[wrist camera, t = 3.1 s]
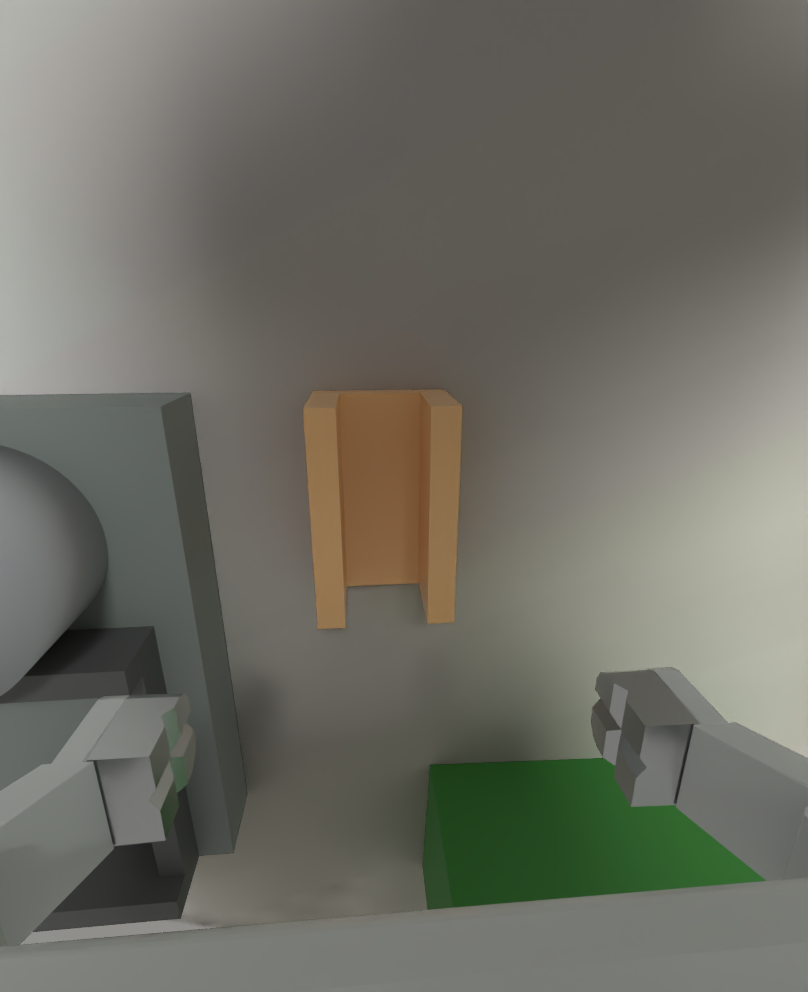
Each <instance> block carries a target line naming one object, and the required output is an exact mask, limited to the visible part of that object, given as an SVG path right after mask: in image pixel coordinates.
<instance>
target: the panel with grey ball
mask: <svg viewBox="0 0 808 992" xmlns="http://www.w3.org/2000/svg"><path fill="white" fill-rule="evenodd" d="M182 693H184V694H185V695H187V696H188V698H189V703H190V708H191V712H190V715H189V717H188V719H187V721H186V723H187V724H188V725H189V726H190V727H191V728H192V729H193V730H194V733H195V740H196V754H195V760H194V765H193V771H192V773H191V776H190V779H189V782H188V784H187V785H186V786H185V787H184V788H183V789H182V790H180V791H179V792H178V793H177V796H178V802H179V808H178V810H177V813H176V815H175V818H174V821H173V823H172V826H171V828H170V831H169V833H168V836H167V838H166V841H156V842H147V843H137V844H127V845H117V846H114V849H113V850H112V851H111V852H110V853H109V854H108V855H107V856H106V857H105V858H104V860H103V861H102V862H101V863H100V864H99V865H98V866H97V867H96V868H95V869H94V870H93V871H92V872H91V873H90V874H89V875H88V876H87V877H86V878H85V879H84V880H83V881H82V882H81V883H80V884H79V885H78V886H77V887H76V888H75V889H74V890H73V891H72V892H71V893H70V894H69V895H68V896H67V897H66V898H65V899H64V900H63V901H62V902H61V903H60V904H59V905H58V906H57V907H56V908H55V909H54V910H53V911H52V912H51V913H50V914H49V916H48V917H47V918H46V919H45V920H44V921H43V922H42V923H41V924H40V925H39V926H38V927H37V928H36V929H35V930H34V931H33V932H38V931H49V930H60V929H71V928H82V927H93V926H104V925H114V924H125V923H136V922H147V921H158V920H169V919H180V918H181V915H182V912H183V909H184V905H185V902H186V898H187V895H188V892H189V888H190V885H191V881H192V878H193V875H194V871H195V868H196V865H197V861H198V858H199V856H203V855H215V854H227V853H234V848H235V844H236V840H237V836H238V831H239V827H240V823H241V818H242V814H243V810H244V805H245V801H246V797H247V788H246V781H245V774H244V767H243V760H242V753H241V746H240V739H239V732H238V725H237V718H236V711H235V704H234V697H233V690H232V683H231V676H230V669H229V662H228V655H227V648H226V641H225V634H224V627H223V620H222V613H221V606H220V599H219V592H218V585H217V578H216V571H215V564H214V557H213V550H212V543H211V536H210V529H209V522H208V515H207V508H206V501H205V494H204V487H203V480H202V473H201V466H200V459H199V452H198V445H197V438H196V431H195V424H194V417H193V409H192V402H191V395H190V393H136V394H61V395H0V791H1V790H3V789H4V788H6V787H7V786H9V785H10V784H12V783H14V782H15V781H17V780H18V779H20V778H21V777H23V776H25V775H26V774H28V773H29V772H31V771H33V770H34V769H36V768H37V767H39V766H40V765H42V764H51V763H52V762H53V760H54V759H55V758H56V756H57V755H58V754H59V752H60V751H61V749H62V748H63V747H64V745H65V744H66V743H67V741H68V740H69V738H70V737H71V736H72V734H73V733H74V732H75V730H76V729H77V727H78V726H79V725H80V723H81V722H82V720H83V719H84V718H85V716H86V715H87V714H88V712H89V711H90V709H91V708H92V707H93V705H94V704H95V703H96V701H97V700H99V699H100V698H102V697H104V696H124V695H129V696H131V695H148V694H182Z"/></svg>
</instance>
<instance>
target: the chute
mask: <svg viewBox="0 0 808 992" xmlns="http://www.w3.org/2000/svg"><path fill="white" fill-rule="evenodd" d="M462 412H463V406H462V405H461V404H460V403H459V402H458V401H456V400H455V399H454V398H453V397H452V396H451V395H450V394H449V393H447V392H446V391H445V390H444V389H428V390H346V391H313V392H312V394H311V395H310V397H309V399H308V400H307V402H306V404H305V406H304V407H303V419H304V434H305V448H306V463H307V478H308V492H309V507H310V522H311V537H312V551H313V566H314V581H315V596H316V610H317V625H318V629H332V628H346V605H347V586H365V585H388V584H412V583H418V584H419V588H420V593H421V597H422V602H423V606H424V611H425V615H426V620H427V624H434V623H454V617H455V591H456V566H457V540H458V514H459V489H460V463H461V437H462Z"/></svg>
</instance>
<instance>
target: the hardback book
mask: <svg viewBox="0 0 808 992" xmlns="http://www.w3.org/2000/svg"><path fill="white" fill-rule="evenodd" d="M614 771H615V765H613V764H612V763H610V762H609V761H607V760H606V759H604V758H592V759H567V760H541V761H515V762H490V763H464V764H439V765H430V774H429V787H428V800H427V814H426V827H425V840H424V853H423V874H424V883H425V891H426V900H427V909H428V910H431V909H443V908H455V907H466V906H478V905H490V904H501V903H513V902H525V901H537V900H548V899H560V898H572V897H584V896H595V895H607V894H619V893H631V892H643V891H654V890H666V889H678V888H689V887H701V886H713V885H724V884H736V883H748V882H759V881H766V880H765V879H764V878H762V877H761V876H760V875H759V874H757V873H756V872H755V871H754V870H753V869H751V868H750V867H749V866H748V865H746V864H745V863H744V862H743V861H741V860H740V859H739V858H738V857H736V856H735V855H734V854H733V853H731V852H730V851H729V850H728V849H727V848H725V847H724V846H723V845H722V844H720V843H719V842H718V841H717V840H715V839H714V838H713V837H712V836H710V835H709V834H708V833H707V832H706V831H704V830H703V829H702V828H701V827H699V826H698V825H697V824H696V823H694V822H693V821H692V820H691V819H689V818H688V817H687V816H686V815H685V814H683V813H682V812H681V811H680V810H678V809H677V808H676V805H664V806H640V807H631V806H630V804H629V802H628V801H627V799H626V797H625V796H624V794H623V792H622V790H621V789H620V787H619V785H618V783H617V782H616V780H615V778H614Z"/></svg>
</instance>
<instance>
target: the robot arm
mask: <svg viewBox="0 0 808 992" xmlns="http://www.w3.org/2000/svg"><path fill="white" fill-rule="evenodd" d="M595 690H596V691H597V693H598V695H599V696H600V698H601V699H600V700H599V701H598V702H597V703H596V704H595V705H594V706H593V707H592V717H591V724H592V731H593V737H594V740H595V743H596V745H597V748H598V750H599V751H600V753H601V755H602V757H603V758H604V759H606V760H607V761H609V762H610V763H612V764H613V765H615V771H614V778H615V780H616V782H617V783H618V785H619V787H620V789H621V790H622V792H623V794H624V796H625V797H626V799H627V801H628V802H629V804H630V806H631V807H640V806H664V805H676V808H677V809H678V810H680V811H681V812H682V813H683V814H685V815H686V816H687V817H688V818H689V819H691V820H692V821H693V822H694V823H696V824H697V825H698V826H699V827H701V828H702V829H703V830H704V831H706V832H707V833H708V834H709V835H710V836H712V837H713V838H714V839H715V840H717V841H718V842H719V843H720V844H722V845H723V846H724V847H725V848H727V849H728V850H729V851H730V852H731V853H733V854H734V855H735V856H736V857H738V858H739V859H740V860H741V861H743V862H744V863H745V864H746V865H748V866H749V867H750V868H751V869H753V870H754V871H755V872H756V873H757V874H759V875H760V876H761V877H762V878H764V879H765V880H766V881H759V882H748V883H736V884H724V885H713V886H701V887H689V888H678V889H666V890H654V891H643V892H631V893H619V894H607V895H595V896H584V897H572V898H560V899H548V900H537V901H525V902H513V903H501V904H490V905H478V906H466V907H455V908H443V909H431V910H420V911H408V912H396V913H385V914H373V915H361V916H350V917H338V918H326V919H315V920H303V921H291V922H280V923H268V924H256V925H245V926H233V927H221V928H210V929H198V930H188V931H176V932H163V933H152V934H140V935H129V936H117V937H105V938H93V939H82V940H71V941H58V942H47V943H35V944H23V945H20V944H21V943H22V942H23V941H24V940H25V939H26V938H27V937H28V936H29V935H30V934H31V933H32V932H33V931H34V930H35V929H36V928H37V927H38V926H39V925H40V924H41V923H42V922H43V921H44V920H45V919H46V918H47V917H48V916H49V914H50V913H51V912H52V911H53V910H54V909H55V908H56V907H57V906H58V905H59V904H60V903H61V902H62V901H63V900H64V899H65V898H66V897H67V896H68V895H69V894H70V893H71V892H72V891H73V890H74V889H75V888H76V887H77V886H78V885H79V884H80V883H81V882H82V881H83V880H84V879H85V878H86V877H87V876H88V875H89V874H90V873H91V872H92V871H93V870H94V869H95V868H96V867H97V866H98V865H99V864H100V863H101V862H102V861H103V860H104V858H105V857H106V856H107V855H108V854H109V853H110V852H111V851H112V850H113V849H114V846H117V845H127V844H137V843H147V842H156V841H166V838H167V836H168V833H169V831H170V828H171V826H172V823H173V821H174V818H175V815H176V813H177V810H178V808H179V802H178V796H177V793H178V792H179V791H180V790H182V789H183V788H184V787H185V786H186V785H187V784H188V782H189V779H190V776H191V773H192V771H193V765H194V760H195V754H196V740H195V733H194V730H193V729H192V728H191V727H190V726H189V725H188V724H187V723H186V721H187V719H188V717H189V715H190V712H191V708H190V703H189V698H188V696H187V695H185V694H184V693H182V694H148V695H131V696H129V695H124V696H104V697H102V698H100V699H99V700H97V701H96V703H95V704H94V705H93V707H92V708H91V709H90V711H89V712H88V714H87V715H86V716H85V718H84V719H83V720H82V722H81V723H80V725H79V726H78V727H77V729H76V730H75V732H74V733H73V734H72V736H71V737H70V738H69V740H68V741H67V743H66V744H65V745H64V747H63V748H62V749H61V751H60V752H59V754H58V755H57V756H56V758H55V759H54V760H53V762H52V763H51V764H42V765H40V766H39V767H37V768H36V769H34V770H33V771H31V772H29V773H28V774H26V775H25V776H23V777H21V778H20V779H18V780H17V781H15V782H14V783H12V784H10V785H9V786H7V787H6V788H4V789H3V790H1V791H0V992H808V758H807V757H804V756H802V755H800V754H798V753H796V752H794V751H792V750H790V749H788V748H786V747H784V746H782V745H780V744H778V743H776V742H774V741H772V740H770V739H768V738H766V737H764V736H762V735H760V734H758V733H756V732H754V731H752V730H750V729H748V728H746V727H744V726H742V725H740V724H738V723H736V722H735V723H728V722H727V721H726V720H725V719H724V718H723V717H722V716H721V715H720V714H719V713H718V711H717V710H716V709H715V708H714V707H713V706H712V705H711V704H710V703H709V702H708V701H707V700H706V699H705V698H704V697H703V696H702V695H701V693H700V692H699V691H698V690H697V689H696V688H695V687H694V686H693V685H692V684H691V683H690V682H689V681H688V680H687V679H686V678H685V677H684V675H683V674H682V673H681V672H680V671H679V670H677V669H675V668H673V667H664V668H652V669H647V670H632V671H614V672H600V673H599V675H598V677H597V680H596V686H595Z"/></svg>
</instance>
